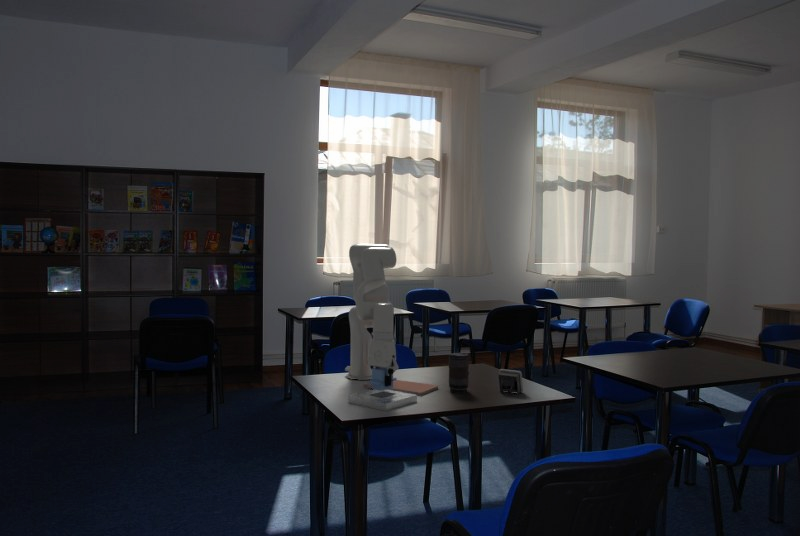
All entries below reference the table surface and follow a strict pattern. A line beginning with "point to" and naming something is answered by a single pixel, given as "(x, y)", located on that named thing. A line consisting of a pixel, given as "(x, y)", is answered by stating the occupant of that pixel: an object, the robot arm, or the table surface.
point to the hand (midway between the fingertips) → (382, 384)
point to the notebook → (409, 387)
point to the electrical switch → (510, 380)
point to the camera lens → (458, 372)
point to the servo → (380, 379)
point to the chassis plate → (382, 399)
